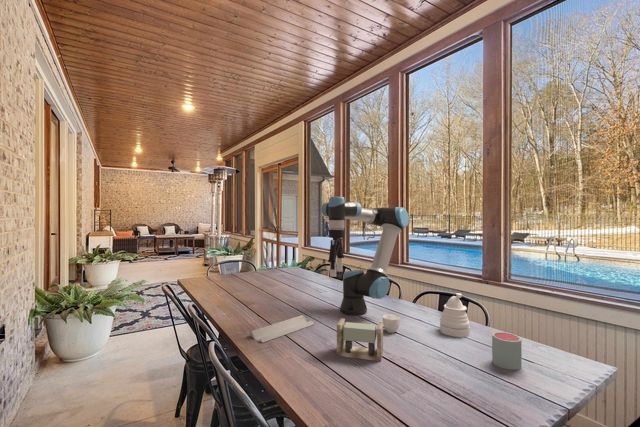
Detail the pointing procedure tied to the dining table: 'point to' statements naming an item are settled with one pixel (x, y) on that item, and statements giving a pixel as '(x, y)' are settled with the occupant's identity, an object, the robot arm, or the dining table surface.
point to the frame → (359, 352)
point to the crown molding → (279, 329)
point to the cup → (391, 322)
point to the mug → (506, 350)
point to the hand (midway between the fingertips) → (336, 273)
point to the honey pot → (455, 318)
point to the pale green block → (360, 332)
